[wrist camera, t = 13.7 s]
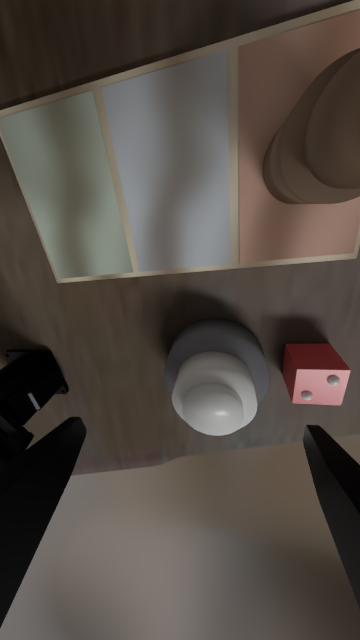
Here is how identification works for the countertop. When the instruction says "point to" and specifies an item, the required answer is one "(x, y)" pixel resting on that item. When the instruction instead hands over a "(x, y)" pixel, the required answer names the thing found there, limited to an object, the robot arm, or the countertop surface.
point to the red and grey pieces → (264, 361)
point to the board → (181, 159)
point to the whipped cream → (215, 393)
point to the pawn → (320, 140)
